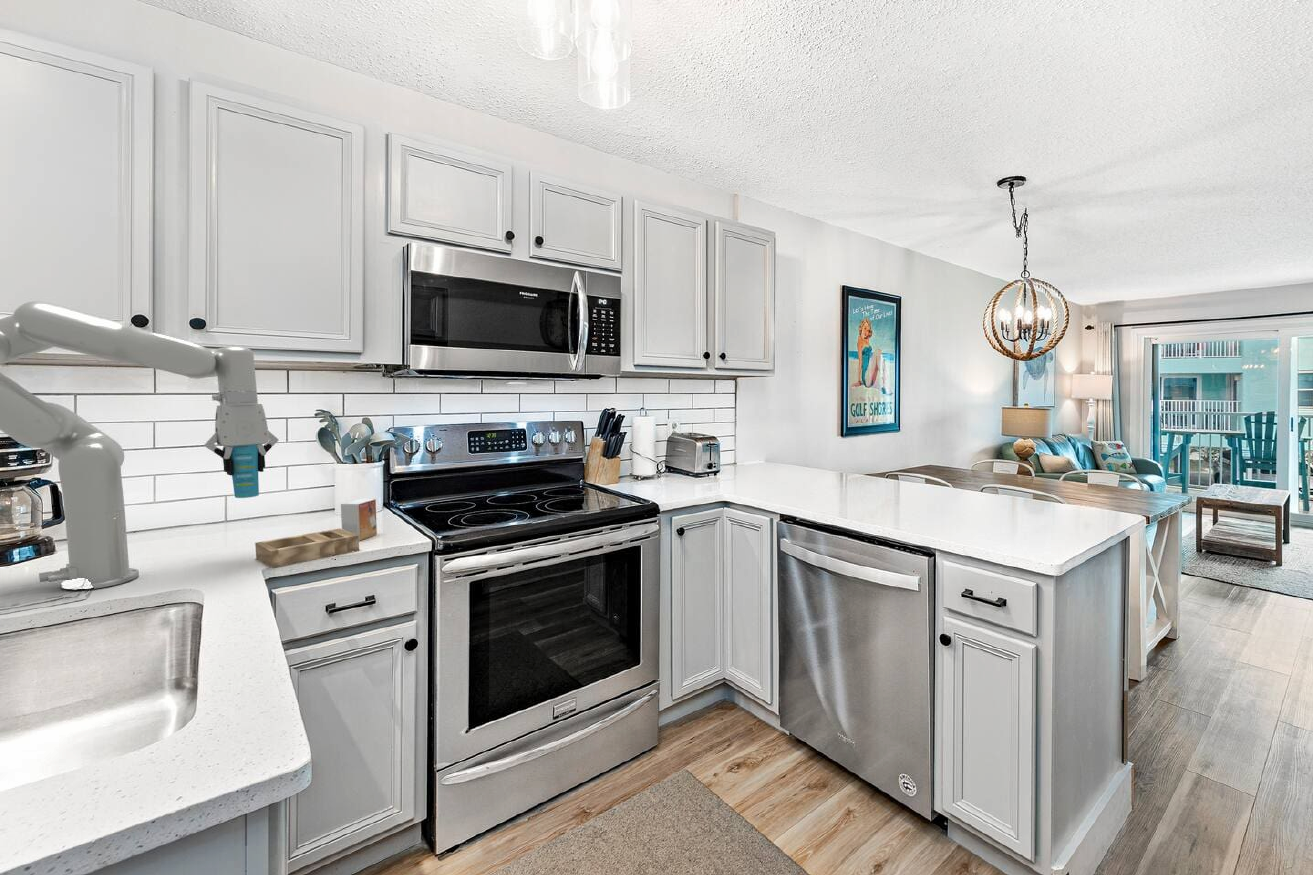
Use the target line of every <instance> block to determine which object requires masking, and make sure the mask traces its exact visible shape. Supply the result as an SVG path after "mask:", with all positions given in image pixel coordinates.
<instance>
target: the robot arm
mask: <svg viewBox="0 0 1313 875" xmlns="http://www.w3.org/2000/svg"><path fill="white" fill-rule="evenodd" d="M54 347H55V348H59V349H63V350H66V351H67V350H68V351H72V352H75V353H79V354H84V355H88V356H91V357H96V358H100V359H104V360H108V361H112V362H115V363H116V362H117V363H126V364H134V365H139V366H143V367H147V368H151V369H156V370H159V371H164V372H168V373H172V374H176V375H180V376H184V377H187V378H190V379H196V380H197V379H205V378H215V377H217V386H218V392H217V394H212V396H211V399H212V401H215V402H218V403H219V404H218V405H216V409H215V410H216V411H215V422H214V425H215V426H214V433H213V435H212V436H211V437H210V438H209V439H208V440H207V441H206V442H205V443H204V447H205V448H206V449H208V450H210V451H211V452H213V453H214V454H215V455H217V456H219V457H220V458H221V459H222V463H223V465H222V466H223V471H224V472H225V473H226V475H228V476H232V475H234V467H233V459H231V456H230V455H231V452H232V448H233V447H236V446H248V445H257V447H258V473H261V472H262V473H263V472H264V469H265V468H266V459H265V455H267V453H268V452H269V451H270V450H271V449H272V447H274V446H275V444H277V443H278V442H279V438H278V437H276V436H275V434H273V433H271V432H270V431H269V427H268V422H267V421H268V420H267V418H266V413H265V408H264V406H263V404H262V403H258V390H257V379H256V377H257V376H256V366H255V355H254V352H253V350H252V349H250V348H248V347H240V346H236V347H235V346H232V347H231V346H230V347H229V346H228V347H227V346H225V347H224V346H223V347H219V348H210V347H209V348H207V347H205V346H203V345H200V344H197V343H193V342H189V341H187V340H186V341H185V340H182V339H179V338H175V337H171V336H168V335H164V334H160V333H155V332H153V331H148V330H144V329H141V328H139V327H136V326H133V325H130V324H127V323H122V322H120V321H115V320H112V319H109V318H104V317H101V316H97V315H94V314H90V313H87V312H82V311H80V310H75V309H72V308H68V307H66V306H65V307H64V306H61V305H56V304H54V303H49V302H44V301H28V302H26V303H23V304H20V305H19V306H18V307H17V308H16V309H15V310H14V312H13V314H12V315H10V316H5V317H3V318H0V365H3V364H7V363H9V362H13V361H15V360H20V359H21V358H24V357H28V356H30V355H31V356H32V355H35V354H37V353H40V352H43V351H46V350H49V349H52V348H54ZM0 432H3V433H4V434H5V435H7V436H8V437H9V438H11V439H12V440H14V441H15V442H17V443H19V444H21V445H22V446H25V447H28V448H33V449H41V450H42V451H44V452H46V453H47V454H49V455H50V456H52V457H54V458H55V459H56V460H58V462H57V463H58V464H57V465H58V466H57V468H58V476H59V480H60V488H61V491H62V500H63V510H64V511H63V512H64V518H65V519H64V520H65V531H66V532H65V533H66V544H67V553H68V554H67V555H68V563H66V564H65V566H66V567H62V568H59V570H53V571H45V572H39V573H38V580H39V583H45V582H49V583H52V582H58V581H63V580H72V579H77V578H85V579H88V581H89V582H91V585H92V586H93V588H94V589H93V590H95V589H103V588H106V587H107V588H108V587H112V586H117V585H121V584H123V583H127V582H129V581H133V580H134V579H137V578H138V577H139V576H140V572H139V569H137V568H134V567H133V568H132V567H130V564H129V563H130V561H129V548H128V535H127V534H128V533H127V526H126V525H127V524H126V522H127V521H126V510H125V498H124V490H123V481H122V466H123V464H124V461H125V453H124V449H123V448H122V446H121V445H120V444H119V443H118V441H116V440H115V439H114V438H112V437H110V436H109V435H108V434H106V433H105V432H103V430H102V431H101V430H100V429H99V428H98V427H95V426H94V425H93V424H92V423H90V422H88V421H87V420H85V419H84V418H83V417H81V416H80V415H78V414H77V413H75V412H74V411H72V410H71V409H69V408H67V407H65V406H63V405H60V404H58V403H54V402H49V401H48V402H47V401H44V400H42V399H41V398H39V397H38V396H36V395H34V394H33V393H32V392H30V391H28V390H27V389H25V388H24V387H23V386H21V385H20V384H19V383H17V382H16V381H14V380H12V379H11V378H10V377H8V376H6V375H4V373H2V372H0ZM215 444H217V445H218V446H221V447H222V449H221V448H219V447H218V446H216V445H215Z"/></svg>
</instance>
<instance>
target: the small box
mask: <svg viewBox="0 0 1313 875" xmlns="http://www.w3.org/2000/svg"><path fill="white" fill-rule="evenodd" d="M340 517H341V529H343V530H346V531H348V532H351V533H353V534H356V535H359V542H360V541H363V540H365V539H367V538H370V537H374V536H377V535H378V533H377V531H378V529H377V500H376V499H375V498H357V499H354V500H351V501H348V502H343V503H342V502H341V503H340ZM376 534H377V535H376Z"/></svg>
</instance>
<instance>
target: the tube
mask: <svg viewBox="0 0 1313 875" xmlns="http://www.w3.org/2000/svg"><path fill="white" fill-rule="evenodd" d="M230 456H231V459H233V467H234V475H231V478H232V484H233V485H232V486H233V494H234V498H236V499H247V498H248V499H249V498H254V497H258V496H259V495H260V493H259V492H260V489H259V487H260V486H259V471H258V447H257V445H248V446H236V447H233V448H232V452H231V455H230Z"/></svg>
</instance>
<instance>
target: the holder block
mask: <svg viewBox="0 0 1313 875" xmlns="http://www.w3.org/2000/svg"><path fill="white" fill-rule="evenodd" d="M254 544H255V559H256V560H258V561H260V562H262V563H263V564H264V565H266V566H268V567H270V568H271V569H273V568H278V567H283V566H289V565H294V564H298V563H304V562H309V561H314V560H318V559H324V558H328V557H333V556H338V555H339V556H340V555H345V554H348V552H349V553H353V552H352V551H354V552H357V551H356V550H359V551H360V541H359V535H356V534H353V533H351V532H348V531H346V530H343V529H342V528H334V529H329V530H323V531H318V532H316V531H315V532H311V533H310V532H309V533H305V534H299V535H293V536H287V537H281V538H275V539H270V540H263V541H257V542H254Z"/></svg>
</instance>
